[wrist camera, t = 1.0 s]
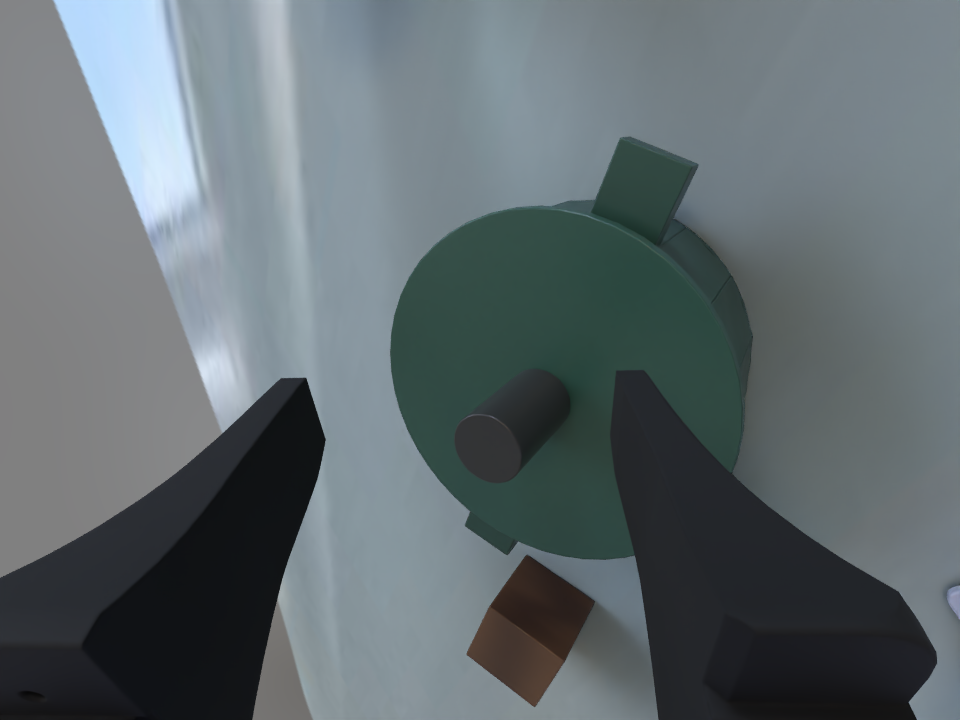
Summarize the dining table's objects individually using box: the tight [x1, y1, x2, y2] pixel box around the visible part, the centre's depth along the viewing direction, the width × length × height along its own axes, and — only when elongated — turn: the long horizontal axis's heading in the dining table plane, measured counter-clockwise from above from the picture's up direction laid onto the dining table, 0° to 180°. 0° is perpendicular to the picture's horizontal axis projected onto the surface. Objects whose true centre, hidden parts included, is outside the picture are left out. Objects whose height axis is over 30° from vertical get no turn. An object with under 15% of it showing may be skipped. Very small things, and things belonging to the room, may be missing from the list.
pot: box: [465, 137, 753, 555], centre depth 24 cm, size 13×18×6 cm
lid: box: [390, 206, 745, 560], centre depth 20 cm, size 14×14×5 cm
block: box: [467, 555, 594, 707], centre depth 32 cm, size 4×4×4 cm
